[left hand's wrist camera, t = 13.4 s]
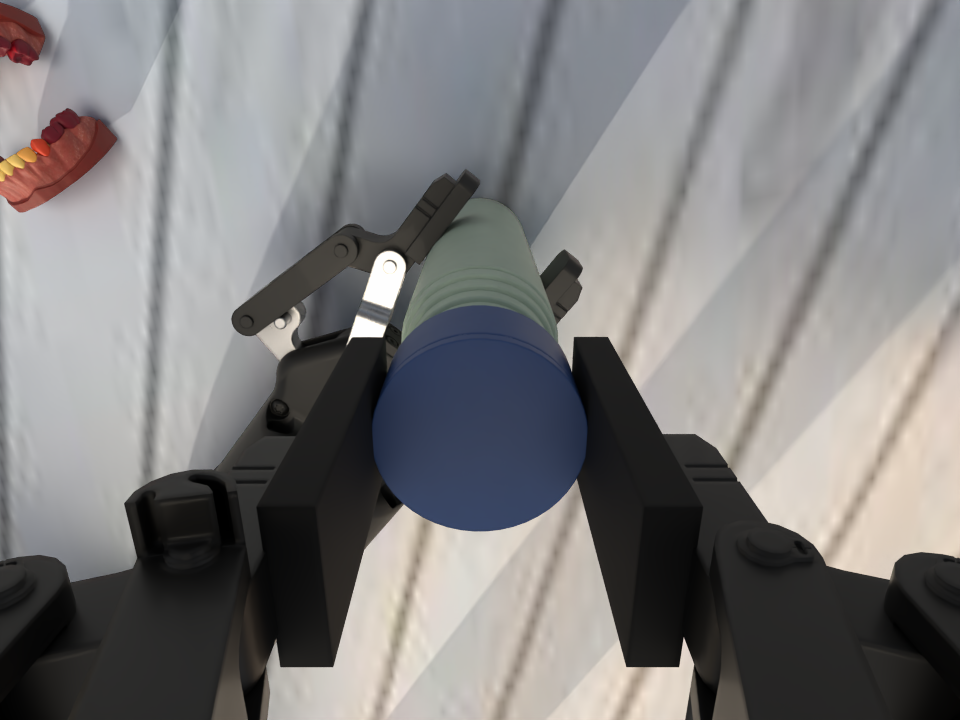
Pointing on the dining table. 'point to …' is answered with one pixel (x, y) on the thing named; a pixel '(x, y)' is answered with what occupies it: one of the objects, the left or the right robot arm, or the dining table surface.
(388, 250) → the right robot arm
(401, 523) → the dining table surface
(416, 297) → the bottle
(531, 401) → the cap
